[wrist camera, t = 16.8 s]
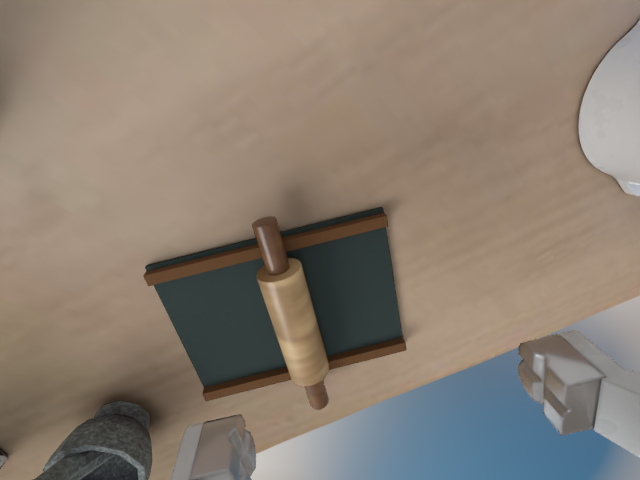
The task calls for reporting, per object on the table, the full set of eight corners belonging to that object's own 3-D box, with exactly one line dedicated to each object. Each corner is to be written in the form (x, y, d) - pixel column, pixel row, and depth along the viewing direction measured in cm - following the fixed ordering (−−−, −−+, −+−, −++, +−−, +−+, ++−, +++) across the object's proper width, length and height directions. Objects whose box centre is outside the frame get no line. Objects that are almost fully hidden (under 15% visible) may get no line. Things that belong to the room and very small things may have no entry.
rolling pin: (287, 207, 33) (289, 224, 29) (334, 382, 42) (341, 412, 38) (242, 218, 33) (237, 236, 29) (299, 391, 42) (302, 422, 38)
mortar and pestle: (181, 426, 43) (149, 540, 32) (120, 458, 44) (68, 579, 33) (118, 369, 39) (56, 479, 28) (51, 405, 40) (-35, 525, 29)
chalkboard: (381, 206, 35) (386, 211, 33) (402, 344, 42) (406, 353, 41) (146, 265, 34) (141, 272, 33) (209, 393, 42) (207, 403, 40)
